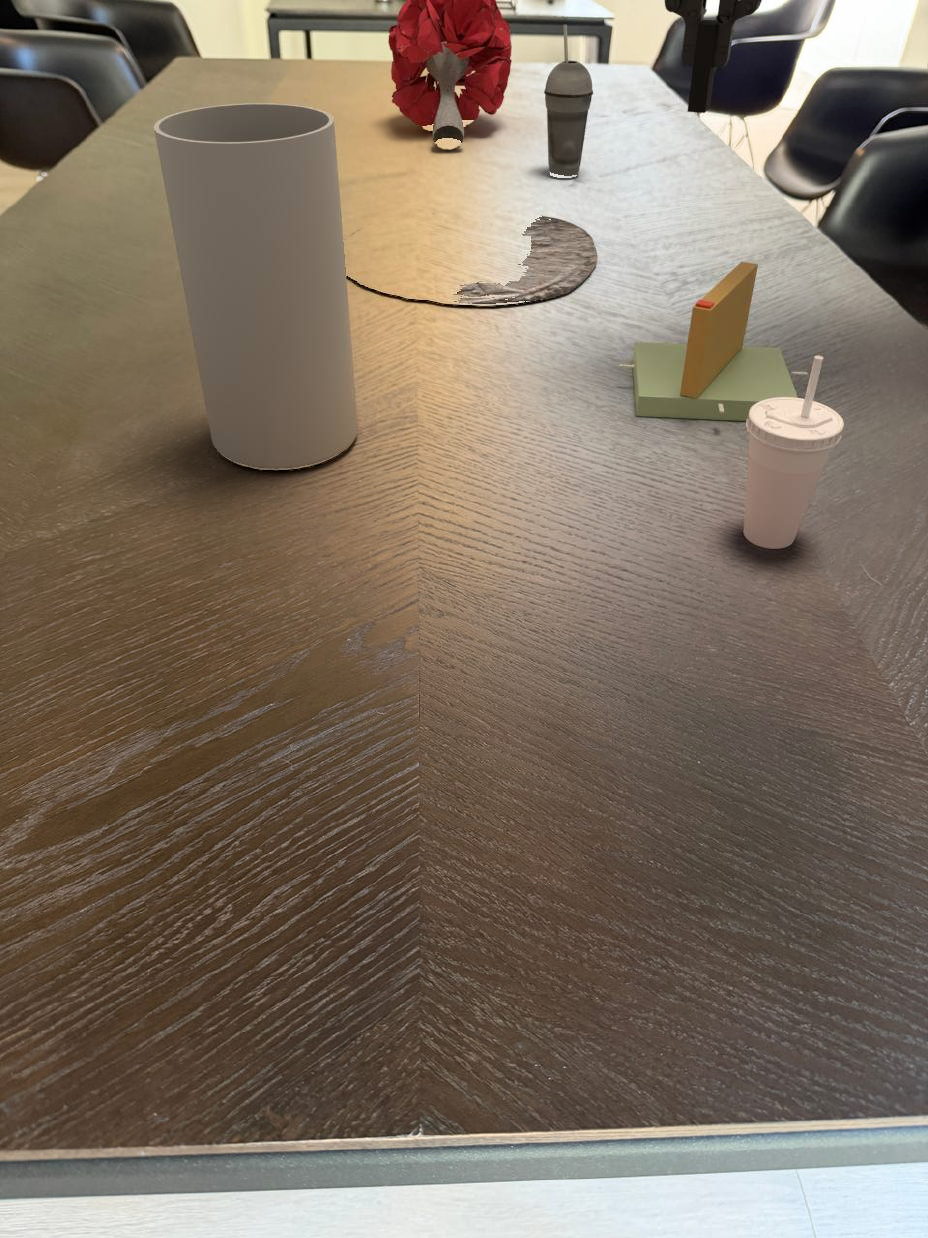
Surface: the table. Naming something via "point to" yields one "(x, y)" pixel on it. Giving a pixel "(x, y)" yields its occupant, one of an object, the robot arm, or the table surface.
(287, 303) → the cylinder vase
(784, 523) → the smoothie
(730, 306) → the red-tabbed upright panel
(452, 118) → the bouquet
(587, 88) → the beverage cup
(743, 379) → the flat green base panel
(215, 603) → the table surface
